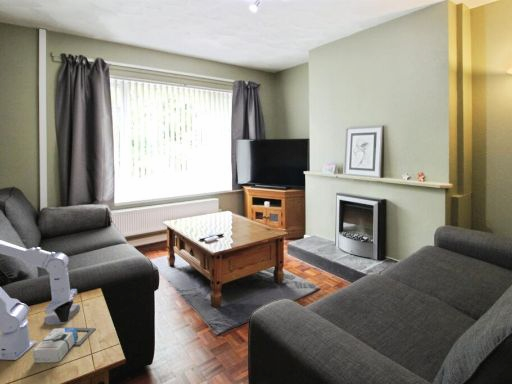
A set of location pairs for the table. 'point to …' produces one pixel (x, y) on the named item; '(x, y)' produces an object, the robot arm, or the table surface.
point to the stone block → (53, 318)
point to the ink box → (55, 345)
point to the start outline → (85, 335)
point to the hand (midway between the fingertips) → (64, 321)
